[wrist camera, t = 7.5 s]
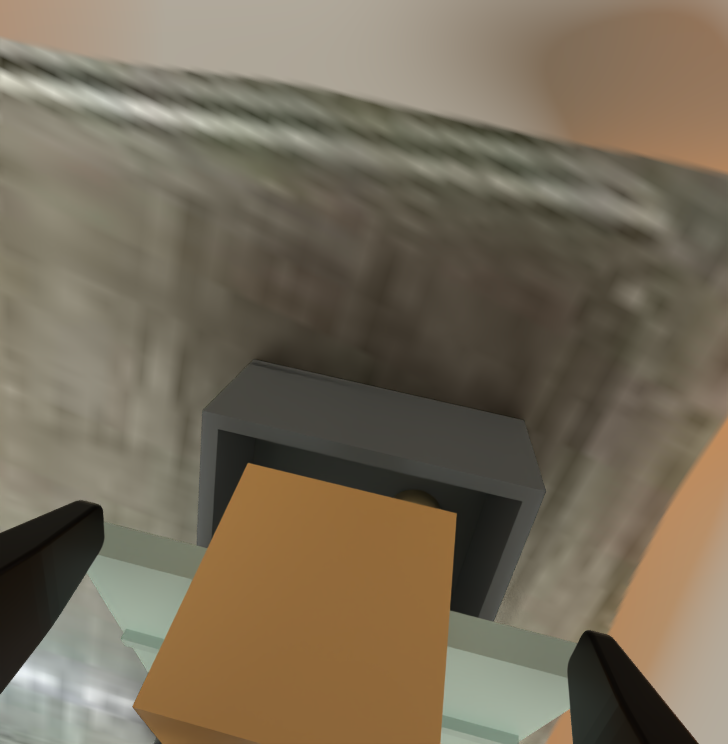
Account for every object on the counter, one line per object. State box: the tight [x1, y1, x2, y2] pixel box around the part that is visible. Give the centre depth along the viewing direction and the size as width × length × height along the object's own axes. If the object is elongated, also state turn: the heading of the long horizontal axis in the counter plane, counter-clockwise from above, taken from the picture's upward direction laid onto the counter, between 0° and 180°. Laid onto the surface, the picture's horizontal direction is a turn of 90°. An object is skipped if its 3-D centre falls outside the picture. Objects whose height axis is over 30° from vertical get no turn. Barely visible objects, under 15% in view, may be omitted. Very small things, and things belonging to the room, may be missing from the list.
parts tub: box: [197, 359, 546, 622], centre depth 22 cm, size 18×12×6 cm
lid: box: [87, 463, 577, 744], centre depth 15 cm, size 20×13×4 cm, turn 170°
